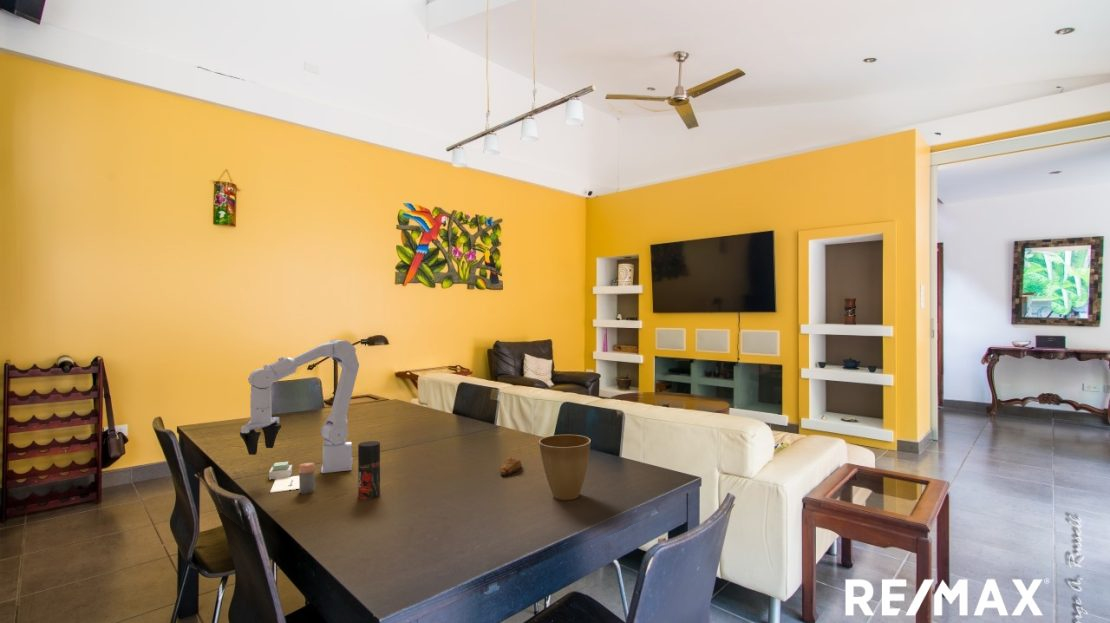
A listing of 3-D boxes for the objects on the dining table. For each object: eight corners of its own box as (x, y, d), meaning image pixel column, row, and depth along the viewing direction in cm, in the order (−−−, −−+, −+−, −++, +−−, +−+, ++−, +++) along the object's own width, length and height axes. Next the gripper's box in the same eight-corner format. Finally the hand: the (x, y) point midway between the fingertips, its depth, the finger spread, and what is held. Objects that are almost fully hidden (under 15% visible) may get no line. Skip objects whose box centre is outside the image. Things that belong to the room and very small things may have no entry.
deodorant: (384, 493, 147) (384, 442, 147) (369, 500, 142) (369, 447, 142) (369, 490, 150) (369, 440, 150) (353, 497, 144) (353, 444, 144)
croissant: (512, 478, 161) (512, 463, 161) (493, 476, 163) (493, 461, 163) (528, 467, 174) (528, 452, 174) (510, 465, 176) (510, 450, 176)
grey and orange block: (314, 488, 152) (314, 462, 152) (314, 492, 148) (314, 465, 148) (299, 490, 150) (299, 463, 151) (298, 494, 147) (298, 467, 147)
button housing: (292, 472, 168) (292, 464, 168) (290, 477, 163) (290, 469, 163) (271, 474, 166) (271, 466, 166) (269, 479, 160) (269, 472, 160)
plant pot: (564, 483, 155) (564, 431, 155) (601, 495, 144) (601, 439, 144) (528, 496, 144) (528, 440, 145) (565, 509, 134) (565, 449, 134)
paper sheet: (310, 475, 165) (310, 474, 165) (307, 488, 152) (307, 487, 152) (276, 479, 161) (276, 478, 161) (269, 493, 148) (269, 491, 148)
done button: (288, 469, 167) (288, 461, 167) (287, 472, 163) (287, 464, 163) (274, 470, 165) (274, 462, 165) (273, 473, 162) (273, 466, 162)
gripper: (265, 403, 165) (265, 444, 165) (231, 411, 150) (232, 457, 150) (285, 403, 164) (285, 445, 164) (253, 412, 150) (253, 457, 149)
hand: (261, 451), depth 157 cm, fingers open, 7 cm apart
